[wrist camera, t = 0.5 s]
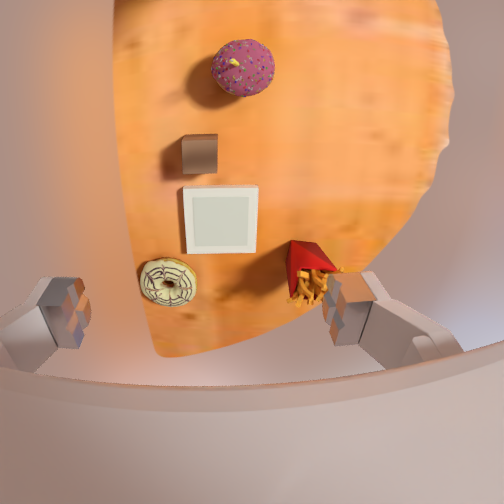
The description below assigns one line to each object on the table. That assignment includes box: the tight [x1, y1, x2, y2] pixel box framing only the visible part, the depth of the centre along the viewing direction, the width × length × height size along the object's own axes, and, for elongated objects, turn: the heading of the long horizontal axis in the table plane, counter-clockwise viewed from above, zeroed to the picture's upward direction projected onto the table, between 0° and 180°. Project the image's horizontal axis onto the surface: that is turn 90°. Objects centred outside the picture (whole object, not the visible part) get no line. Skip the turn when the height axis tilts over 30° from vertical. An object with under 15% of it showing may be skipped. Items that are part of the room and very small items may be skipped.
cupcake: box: [211, 39, 275, 97], centre depth 37 cm, size 9×8×12 cm
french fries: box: [285, 240, 344, 308], centre depth 53 cm, size 9×8×15 cm
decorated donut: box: [140, 257, 197, 307], centre depth 58 cm, size 10×11×4 cm
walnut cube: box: [182, 134, 218, 174], centre depth 46 cm, size 5×5×5 cm
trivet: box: [183, 185, 258, 254], centre depth 54 cm, size 12×12×2 cm
